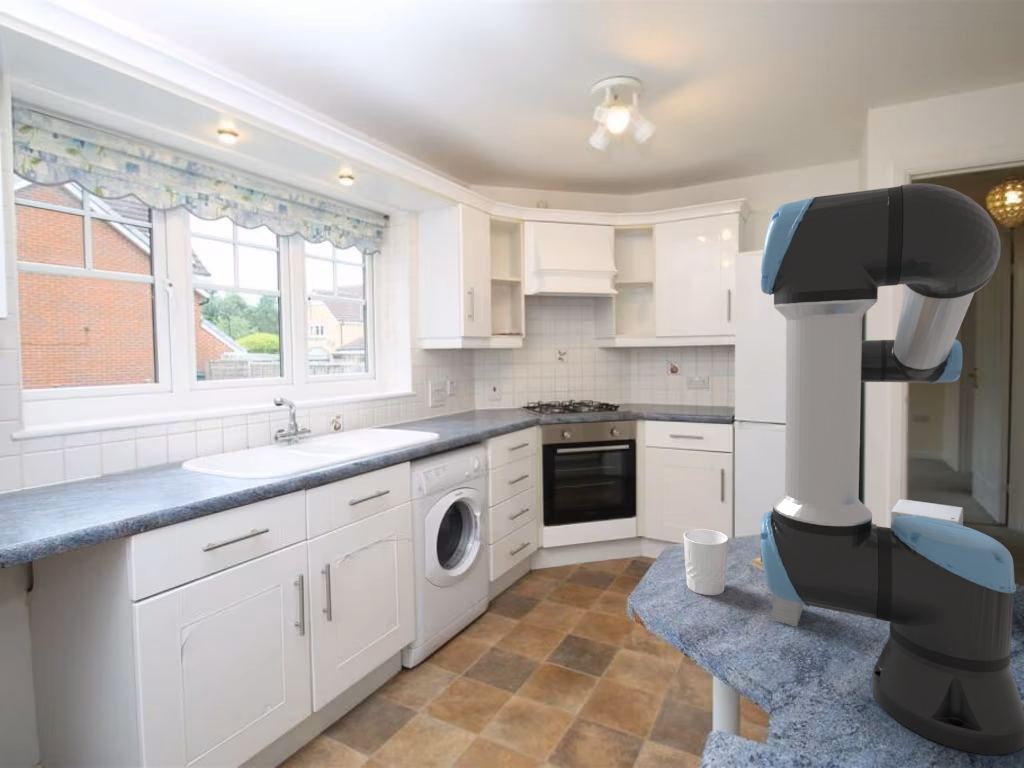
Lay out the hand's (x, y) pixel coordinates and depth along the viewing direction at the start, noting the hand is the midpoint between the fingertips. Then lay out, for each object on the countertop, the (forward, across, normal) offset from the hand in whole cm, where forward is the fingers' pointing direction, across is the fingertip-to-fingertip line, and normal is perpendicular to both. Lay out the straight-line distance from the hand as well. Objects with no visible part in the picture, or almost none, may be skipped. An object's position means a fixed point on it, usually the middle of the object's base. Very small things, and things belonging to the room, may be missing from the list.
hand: (830, 520), depth 111 cm
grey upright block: (+9, +24, +15) cm, 30 cm away
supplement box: (+9, -1, +19) cm, 21 cm away
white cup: (+9, +31, +2) cm, 32 cm away
